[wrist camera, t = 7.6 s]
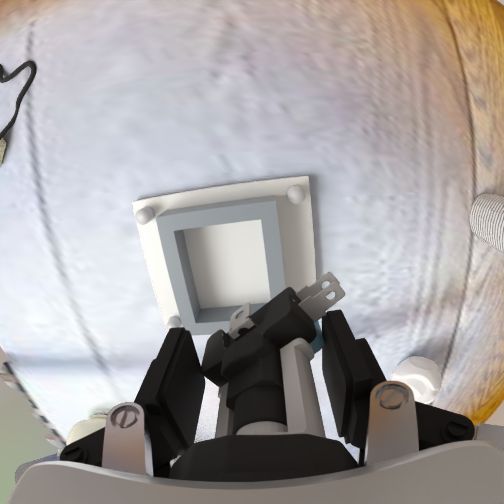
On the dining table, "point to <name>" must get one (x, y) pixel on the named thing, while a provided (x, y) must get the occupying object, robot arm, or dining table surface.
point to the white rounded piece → (419, 377)
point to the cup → (488, 220)
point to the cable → (0, 142)
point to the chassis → (226, 249)
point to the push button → (268, 395)
